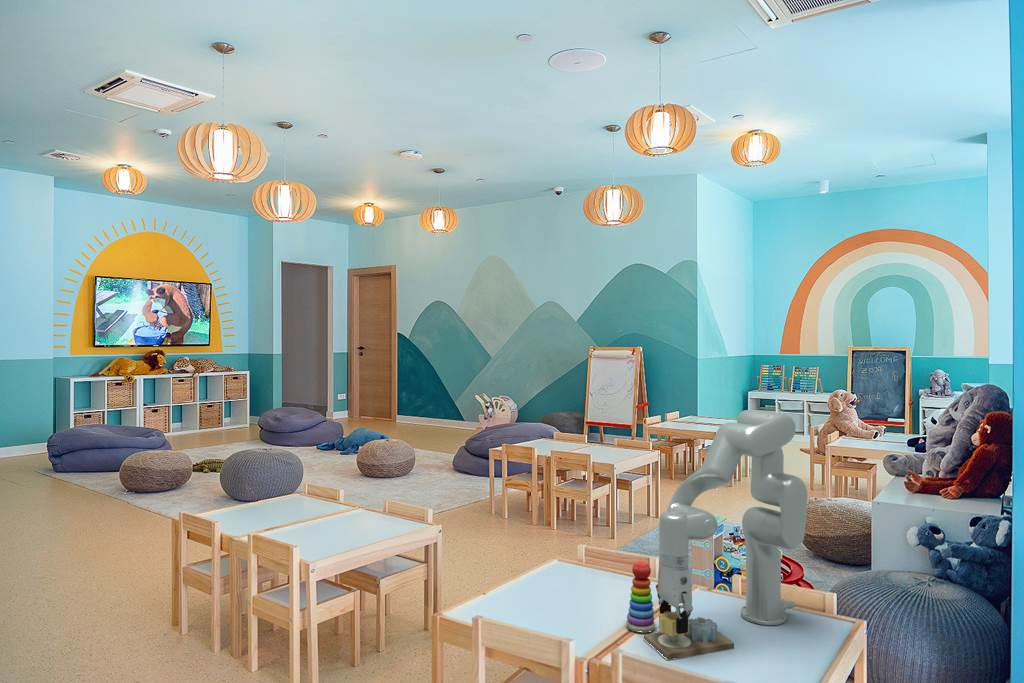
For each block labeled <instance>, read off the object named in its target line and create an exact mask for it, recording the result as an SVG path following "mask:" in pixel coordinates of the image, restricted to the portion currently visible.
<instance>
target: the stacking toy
mask: <svg viewBox="0 0 1024 683" xmlns="http://www.w3.org/2000/svg"><path fill="white" fill-rule="evenodd" d="M631 571H632V574H633V576H634V578H633V579H632V586H631V587H630V591H631V593H630V596H629V597H630V600H629V607H628V612H627V615H626V618H627V621H626V627H627V628H628V629H629V630H630V631H632V632H634V631H642V632H649V631H651V632H653V631H654V630H656V623H655V617H654V616H655V615H654V613H655V609H654V607H653V606H654V603H653V601H652V599H653V595H652V588H651V587H650V585H651V580H650V578H649V577H650V575H651V571H652V569H651V566H650V564H649V563H648V562H646V561H643V560H638V561H636V562H634V564H633V565H632V570H631ZM649 633H650V632H649Z"/></svg>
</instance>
